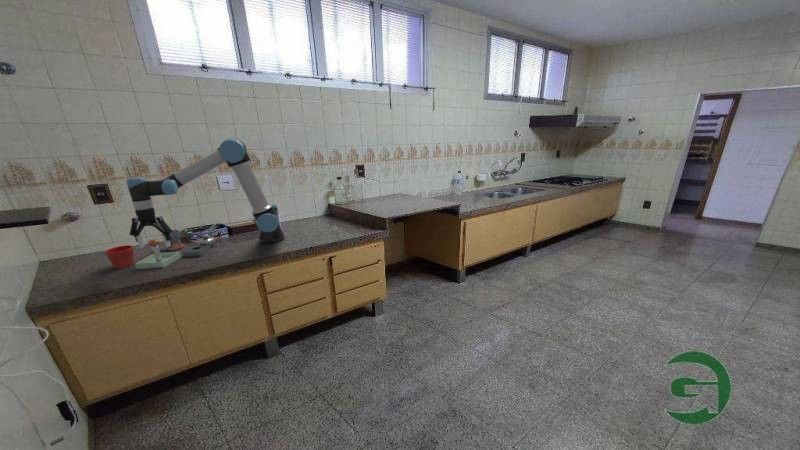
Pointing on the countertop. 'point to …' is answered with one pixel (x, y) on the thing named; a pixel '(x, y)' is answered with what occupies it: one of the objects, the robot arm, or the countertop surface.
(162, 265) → the tray
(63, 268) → the countertop surface
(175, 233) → the mug
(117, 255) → the flower pot
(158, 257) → the orange capped clear bottle
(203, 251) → the tensioner block
